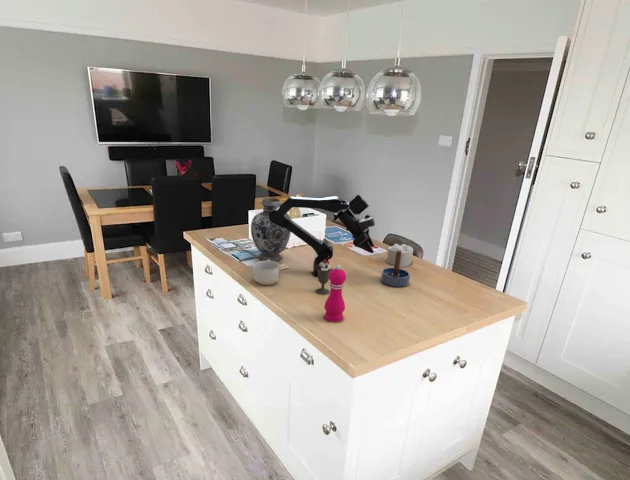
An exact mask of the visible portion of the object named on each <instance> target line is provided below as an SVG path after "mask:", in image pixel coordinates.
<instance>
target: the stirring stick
mask: <svg viewBox="0 0 630 480" xmlns="http://www.w3.org/2000/svg"><path fill="white" fill-rule="evenodd" d="M401 253H402V251H401V250H397V251H396V258H395V265H393V268H394V271H393V273H392V274H391V276H392V277H400V275H399V274H398V272H399V269H400V267H399V266H400V259H401Z"/></svg>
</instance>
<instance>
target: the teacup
mask: <svg viewBox="0 0 630 480" xmlns="http://www.w3.org/2000/svg"><path fill="white" fill-rule="evenodd" d="M252 271H253V279H254V280H255V282H257V283H258V284H260V285H262V286H270V285H273V284H275V283H276V282H277V281H279V278H280V263H279V262H278V261H271V260H267V261H265V260H260V261H256V262H254V263H253V264H252Z"/></svg>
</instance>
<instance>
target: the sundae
mask: <svg viewBox="0 0 630 480" xmlns="http://www.w3.org/2000/svg"><path fill="white" fill-rule="evenodd" d="M329 257H330V256H328V257H327V258H329ZM316 270H317V271H318V276H317V279H318V282H319V283H320V284H321V286H320V288H317V289H316V293H317V294H320V295H327V294H329V293H330V291H329V290H328V289H327V288H325V285H326V284H327V283H328V282H329V281H330V280H329V273H330V271H331V270H333V267H332V266H331V263H330V260H328V261H327V262H326V259H325V260H323V261H322V262H321V263H320V264H319V265H318V264H317V267H316Z"/></svg>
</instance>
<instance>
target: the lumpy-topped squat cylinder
mask: <svg viewBox="0 0 630 480" xmlns="http://www.w3.org/2000/svg"><path fill="white" fill-rule="evenodd" d="M397 250H401V251H402V253H401V259H400V266H399V268H403V267H407V266H411V264H412V260H413V255H414V248H413V247H412V246H411V245H407V244H405V243H402V244H398V243H394V244H393V245H392V246H388V249H387V256H386V263H387V264H390V265H392V266H394V265H395V258H396V251H397Z"/></svg>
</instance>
